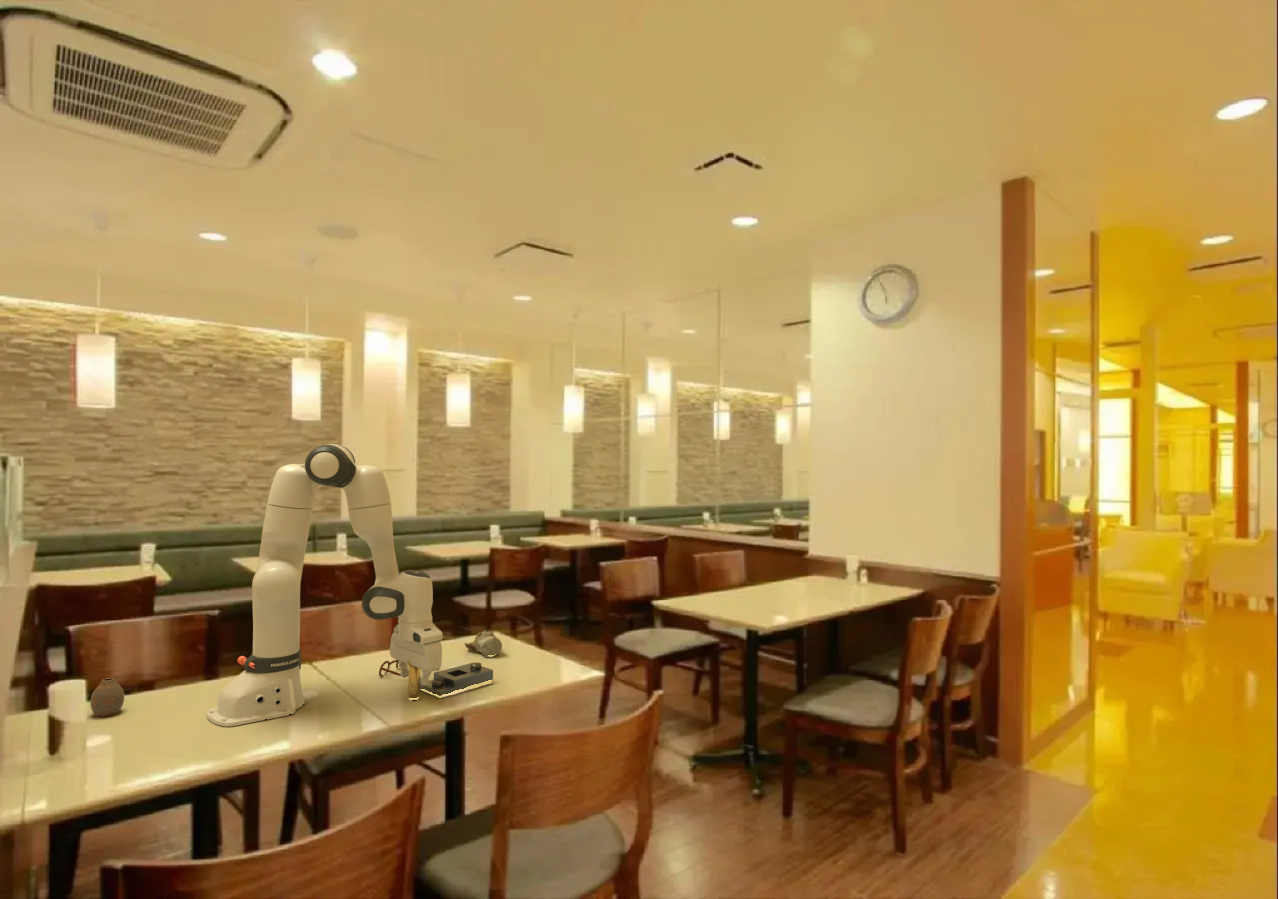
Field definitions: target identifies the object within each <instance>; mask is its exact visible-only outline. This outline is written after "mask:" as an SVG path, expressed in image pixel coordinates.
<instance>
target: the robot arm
mask: <svg viewBox="0 0 1278 899" xmlns="http://www.w3.org/2000/svg"><path fill="white" fill-rule="evenodd" d="M304 460H305V461H304V463H303V464H299V463H291V464H286V465H283V466H281V467H280V468H278V469H277V470H276V472H275V475H274V478H273V479H272V482H271V487H270V488H269V489H270V490H269V493H268V497H267V503H266V509H265V513H264V520H263V525H262V532H261V539H260V541H261V542H260V548H259V549H260V550H259V556H258V562H257V567H256V571H255V574H254V576H253V578H252V582H251V583H252V584H251V587H252V588H251V594H252V595H251V597H252V600H251V601H252V602H251V603H252V626H253V628H252V630H253V631H252V653H251V654H250V656H248V657H246V656H244V655H241V656H238V658H237V663H238V664H240V665H241V666H244V670H243V671H242V672H240V673H239V674H238V675H237V676H236V677H234V679H232V680H231V681H230V682H229V683H227V684H226V685H225V686H224V687H223V688H222V689H221V691H220V692H219V695H218V701H217V705H216V706H214V707H211V708H209V709H208V710H207V713H206V718H207V719H208V721H210V722H211V723H213V724H214V725H218V726H222V727H235V726H239V725H244V724H250V723H255V722H260V721H266V720H265V719H267V720H271V719H276V718H281V717H286V716H290V715H289V714H292V715H293V714H295V713H296V711H297V710H298V709H300V708H301V707H302V706H304V705H303V704H305V703H306V700H305V696H304V693H303V689H302V682H301V680H302V679H301V672H300V670H301V668H302V650H301V648H300V642H301V641H300V639H301V638H300V637H301V581H302V576H303V575H302V574H303V568H304V565H305V564H304V562H305V557H306V550H307V545H308V540H309V534H310V527H311V521H312V514H313V510H314V509H313V508H314V502H315V497H316V494H317V491H318V490H319V488H320V487H322V486H324V487H332V488H340V489H342V490H343V491H344V494H345V498H346V503H347V511H348V518H349V522H350V525H351V528H352V530H353V533H354V534H355V535H356V536H358V538H360V539H362V540H363V541H365V542H366V544H367V545H368V547H369V549H370V551H371V555H372V556H371V557H372V561H373V567H374V571H375V582H374V585H372V586H371V587H370V588H369V589H367V591H366V592H365V593H364V595H363V596H362V599H361V607H362V610H363V612H364V613H365V615H366V616H367V617H369V618H370V619H372V620H376V621H378V620H380V621H383V620H388V619H389V620H390V619H393V618H398V624H396V625H395V627H394V628H393V633H392V634H391V637H390V646H389V655H390V657H391V658H392V659H393V660H398V667H400V668H399V670H400V674H401V676H400V677H403V678H407V677H408V678H409V667H408V665H407V660H409V661H410V663H411V665H412V666H415V667H417V668H420V670H421V673H422V675H421V677H420V684H421V685H427V684H428V681H429V677H430V676H431V674H432V672H437V671H440V670H439V669H440V668H441V667H442V664H443V663H442V662H443V646H442V642H441V641H442V640H443V638H444V637H443V636H444V635H443V632H442V631H441V630H440V629H439V628H438V627H437V625H435V623H434V622H433V615H432V607H433V602H434V600H433V599H434V598H433V597H434V596H433V595H434V592H433V591H434V590H433V581H432V577H431V576H430V574H428V573H426V572H424V571H422V570H418V569H407V570H403V571H402V572H401V571H400V568H399V562H398V558H397V553H396V551H397V550H396V546H395V542H394V529H393V527H394V526H393V525H394V522H393V509H392V503H391V502H392V500H391V496H390V490H389V487H388V484H387V479H386V477H385V474H384V472H383V470H382V469H381V468H380V467H377V466H374V465H370V464H366V465H362V464H361V465H359V464H357V463H356V459H355V457H354V454H353V453H352V452H351V450H349V448H347V447H345V446H343V445H340V444H337V443H326V444H321V445H318V446H316V447H314V448H312V450H310V451H309V453H308V454H307V455H306V458H305V459H304ZM296 709H297V710H296Z"/></svg>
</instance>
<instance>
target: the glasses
mask: <svg viewBox="0 0 1278 899" xmlns="http://www.w3.org/2000/svg"><path fill="white" fill-rule="evenodd" d="M386 664H387V668H385V667H384V666H385V665H386ZM392 664H395V668H396V669H397V668H398V667H399V664H398V660H397V659H393V660H392V661H388V660H385V661H383V663H381V664H380V667H379V670H378V676H379V677H380V676H381V675H383V674H386V673H387V674H388V673H389V674H393V675H396V676H398V677H402V676H401V672H400V673H399V672H397V671H393V670H390V669H391V665H392ZM382 671H383V672H384V673H383V674H382ZM387 674H386V675H387Z"/></svg>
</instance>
